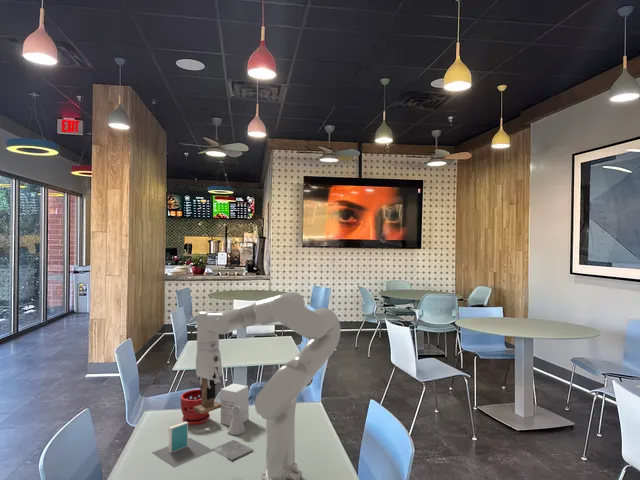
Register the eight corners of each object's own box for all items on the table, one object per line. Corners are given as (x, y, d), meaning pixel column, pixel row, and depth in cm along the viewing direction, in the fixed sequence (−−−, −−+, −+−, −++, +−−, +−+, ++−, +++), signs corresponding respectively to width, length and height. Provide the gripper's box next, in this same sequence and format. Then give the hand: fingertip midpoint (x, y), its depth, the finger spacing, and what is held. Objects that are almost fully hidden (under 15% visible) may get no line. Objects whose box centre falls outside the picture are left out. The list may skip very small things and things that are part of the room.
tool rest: (253, 451, 155) (253, 449, 155) (231, 461, 148) (231, 459, 148) (233, 441, 163) (233, 439, 163) (211, 450, 156) (211, 449, 156)
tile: (188, 446, 158) (188, 422, 158) (171, 453, 153) (171, 428, 153) (185, 445, 159) (185, 421, 160) (168, 451, 154) (168, 427, 154)
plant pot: (175, 421, 183) (175, 393, 183) (203, 413, 192) (203, 387, 192) (188, 430, 173) (188, 401, 173) (216, 421, 182) (216, 394, 182)
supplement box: (233, 416, 188) (233, 382, 189) (249, 419, 184) (249, 385, 185) (219, 423, 180) (219, 388, 180) (236, 427, 176) (236, 392, 176)
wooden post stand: (221, 407, 149) (221, 364, 149) (202, 414, 143) (202, 369, 143) (213, 404, 152) (213, 362, 153) (194, 410, 146) (194, 367, 147)
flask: (241, 436, 167) (241, 411, 168) (224, 435, 169) (224, 410, 169) (247, 429, 175) (247, 405, 175) (231, 427, 176) (231, 403, 176)
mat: (213, 451, 155) (213, 450, 155) (174, 468, 143) (174, 467, 143) (190, 438, 166) (190, 437, 166) (151, 453, 153) (151, 452, 153)
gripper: (230, 347, 146) (230, 399, 145) (204, 340, 156) (203, 389, 156) (212, 351, 140) (212, 406, 140) (186, 344, 151) (185, 395, 150)
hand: (207, 396), depth 148 cm, fingers closed on wooden post stand, 3 cm apart
